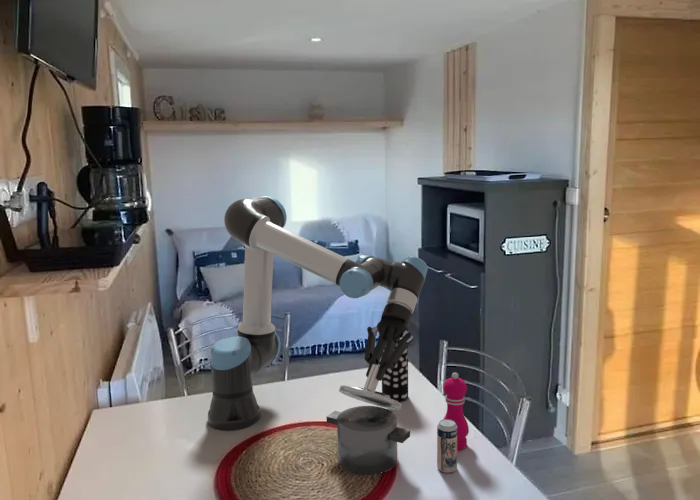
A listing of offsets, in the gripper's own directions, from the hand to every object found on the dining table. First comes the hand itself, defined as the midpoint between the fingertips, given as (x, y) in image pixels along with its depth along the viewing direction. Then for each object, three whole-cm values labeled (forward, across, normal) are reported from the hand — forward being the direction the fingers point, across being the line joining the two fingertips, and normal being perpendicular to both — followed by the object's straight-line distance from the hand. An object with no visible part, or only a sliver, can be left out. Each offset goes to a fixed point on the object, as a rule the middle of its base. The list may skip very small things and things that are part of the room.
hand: (368, 390), depth 142 cm
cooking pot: (+13, +1, -14) cm, 19 cm away
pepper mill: (0, -15, -27) cm, 31 cm away
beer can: (+9, -18, -18) cm, 27 cm away
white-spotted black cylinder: (-14, +13, -40) cm, 44 cm away
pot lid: (+1, +1, -4) cm, 5 cm away
